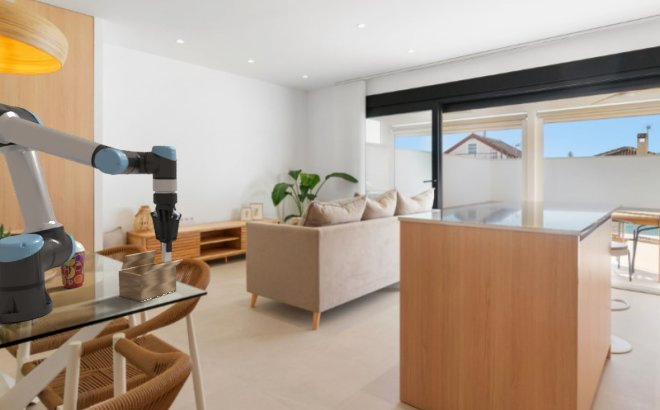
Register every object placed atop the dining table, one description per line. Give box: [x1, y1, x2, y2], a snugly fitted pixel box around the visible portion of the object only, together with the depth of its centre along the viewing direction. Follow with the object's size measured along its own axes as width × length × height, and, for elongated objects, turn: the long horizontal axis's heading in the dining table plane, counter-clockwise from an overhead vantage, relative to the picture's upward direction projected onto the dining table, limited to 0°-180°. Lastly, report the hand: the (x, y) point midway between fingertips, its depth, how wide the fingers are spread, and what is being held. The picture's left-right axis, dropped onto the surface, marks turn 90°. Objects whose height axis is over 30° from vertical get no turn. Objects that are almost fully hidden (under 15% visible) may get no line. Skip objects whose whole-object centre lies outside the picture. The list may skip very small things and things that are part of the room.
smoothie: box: [60, 233, 86, 289], centre depth 147 cm, size 8×8×20 cm
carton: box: [118, 263, 177, 302], centre depth 139 cm, size 14×12×9 cm
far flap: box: [120, 249, 158, 271], centre depth 141 cm, size 13×1×6 cm, turn 152°
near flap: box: [143, 258, 184, 275], centre depth 135 cm, size 13×1×6 cm
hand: (166, 261), depth 134 cm, fingers closed
